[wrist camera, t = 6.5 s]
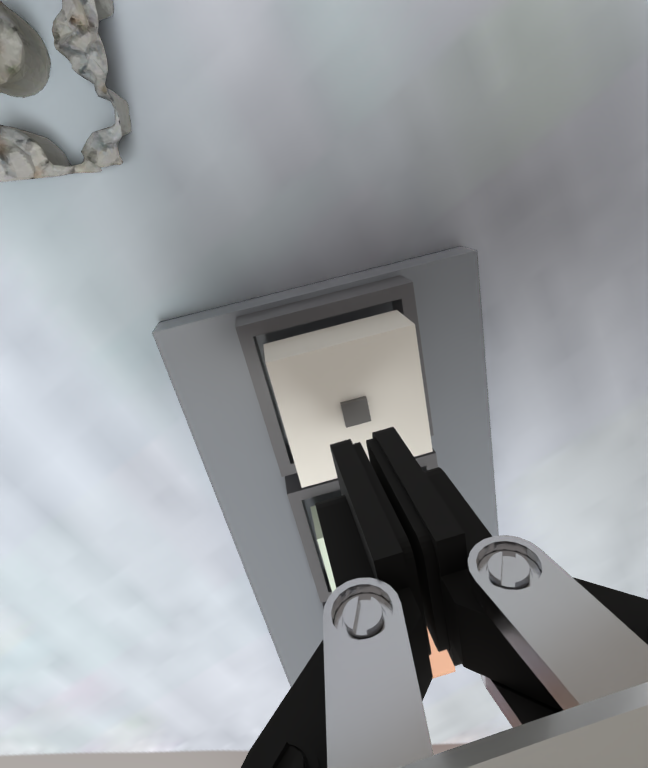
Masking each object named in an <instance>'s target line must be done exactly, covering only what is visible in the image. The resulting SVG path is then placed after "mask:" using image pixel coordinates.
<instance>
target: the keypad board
mask: <svg viewBox="0 0 648 768" xmlns="http://www.w3.org/2000/svg"><path fill="white" fill-rule="evenodd" d="M394 310H398V311H399V312H400V313H401V314H403V315H404V316H405V317H406V318H408V319H409V320H410V321H412V322H413V323H414V324H415V328H416V335H417V342H418V349H419V357H420V364H421V371H422V378H423V385H424V392H425V400H426V407H427V414H428V421H429V428H430V435H431V443H432V450H433V452H429V453H426V454H422V455H419V456H415V457H414V458H415V459H416V461H417V462H418V464H419V465H420V467H421V468H422V470H423V471H427V470H430V469H434V468H437V467H440V468H441V469H442V470H443V471H444V472H445V473H446V475H447V476H448V477H449V479H450V480H451V481H452V483H453V484H454V485H455V487H456V488H457V489H458V491H459V492H460V493H461V495H462V496H463V497H464V499H465V500H466V501H467V503H468V504H469V506H470V507H471V508H472V510H473V511H474V512H475V514H476V515H477V516H478V518H479V519H480V520H481V522H482V523H483V524H484V526H485V527H486V528H487V530H488V531H489V532H490V534H491V535H492V537H493V536H499V534H498V521H497V508H496V495H495V481H494V468H493V455H492V442H491V428H490V415H489V402H488V389H487V375H486V362H485V349H484V336H483V323H482V309H481V296H480V283H479V270H478V256H477V250H473V249H469V248H466V247H462V246H460V247H456V248H452V249H448V250H444V251H440V252H436V253H432V254H428V255H425V256H421V257H417V258H413V259H409V260H405V261H401V262H397V263H393V264H389V265H385V266H381V267H377V268H373V269H369V270H365V271H361V272H357V273H353V274H349V275H345V276H341V277H337V278H333V279H329V280H325V281H322V282H318V283H314V284H310V285H306V286H302V287H298V288H294V289H290V290H286V291H282V292H278V293H274V294H270V295H266V296H262V297H258V298H254V299H250V300H246V301H242V302H238V303H234V304H230V305H226V306H222V307H219V308H215V309H211V310H207V311H203V312H199V313H195V314H191V315H187V316H183V317H179V318H175V319H171V320H167V321H163V322H159V323H158V325H157V326H156V328H155V329H154V331H153V332H152V334H153V336H154V339H155V341H156V344H157V346H158V349H159V351H160V354H161V357H162V359H163V362H164V364H165V367H166V369H167V372H168V374H169V377H170V380H171V382H172V385H173V387H174V390H175V392H176V395H177V397H178V400H179V403H180V405H181V408H182V410H183V413H184V415H185V418H186V420H187V423H188V426H189V428H190V431H191V433H192V436H193V438H194V441H195V443H196V446H197V449H198V451H199V454H200V456H201V459H202V461H203V464H204V466H205V469H206V472H207V474H208V477H209V479H210V482H211V484H212V487H213V489H214V492H215V495H216V497H217V500H218V502H219V505H220V507H221V510H222V512H223V515H224V518H225V520H226V523H227V525H228V528H229V530H230V533H231V535H232V538H233V541H234V543H235V546H236V548H237V551H238V553H239V556H240V558H241V561H242V564H243V566H244V569H245V571H246V574H247V576H248V579H249V581H250V584H251V587H252V589H253V592H254V594H255V597H256V599H257V602H258V604H259V607H260V610H261V612H262V615H263V617H264V620H265V622H266V625H267V627H268V630H269V633H270V635H271V638H272V640H273V643H274V645H275V648H276V650H277V653H278V656H279V658H280V661H281V663H282V666H283V668H284V671H285V674H286V676H287V679H288V681H289V684H290V686H291V687H292V686H293V684H294V683H295V681H296V680H297V678H298V677H299V675H300V674H301V672H302V670H303V669H304V667H305V666H306V664H307V663H308V661H309V660H310V658H311V657H312V655H313V654H314V652H315V651H316V649H317V648H318V646H319V645H320V643H321V642H322V640H323V611H324V606H325V604H326V602H327V600H328V597H329V596H330V595H331V594H332V590H331V586H330V583H329V579H328V576H327V573H326V569H325V566H324V562H323V559H322V555H321V552H320V549H319V545H318V542H317V538H316V533H315V528H314V523H313V518H312V513H311V508H310V507H312V506H315V503H318V502H322V501H325V500H329V499H332V498H335V497H339V496H342V494H341V490H340V485H339V481H338V478H336V479H332V480H328V481H325V482H321V483H318V484H314V485H310V486H307V487H303V488H302V487H301V483H300V480H299V477H298V473H297V470H296V466H295V463H294V459H293V456H292V453H291V449H290V446H289V442H288V439H287V435H286V432H285V429H284V425H283V422H282V418H281V415H280V411H279V408H278V405H277V401H276V398H275V394H274V391H273V387H272V384H271V381H270V377H269V374H268V370H267V367H266V363H265V355H264V345H263V344H266V343H270V342H274V341H278V340H282V339H285V338H289V337H293V336H297V335H301V334H305V333H309V332H313V331H316V330H320V329H324V328H328V327H332V326H336V325H340V324H343V323H347V322H351V321H355V320H359V319H363V318H367V317H371V316H374V315H378V314H382V313H386V312H390V311H394ZM461 664H462V663H461ZM458 665H460V664H458ZM455 666H457V665H455Z"/></svg>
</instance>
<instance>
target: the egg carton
mask: <svg viewBox="0 0 648 768" xmlns="http://www.w3.org/2000/svg"><path fill="white" fill-rule="evenodd" d="M113 11H114V7H113V1H112V0H62V10H61V11H60V13H59V14H58V15H57V17H56V18H55V20H54V21H53V28H52V32H53V36H54V45H55V48H56V50H58V51H59V52H60V53H61V54H63V55H64V56H65V57H66V58H67V59H68V60H69V61H70V62H71V64H72V69H73V70H74V71H75V72H76V73H78V74H79V75H81V76H82V77H83V78H85V79H87V80H89V81H90V82H92V83H93V84H94V86H95V91H96V93H97V95H98V96H99V97H102V98H104V99H107V100H109V101H111V102H112V104H113V106H114V108H115V124H114V125H113V126H112V127H108V128H105V129H102V130H99V131H96V132H93V133H92V134H91V135H90V137H89V138H88V139H87V141H86V143H85V145H84V147H83V149H82V151H81V152H82V154H83V156H84V162H83V163H82V164H78V165H74V166H71V165H70V163H69V161H68V159H67V157H66V155H65V154H64V153H63V152H62V150H61V149H60V148H59V147H58V146H57V145H55V144H54V143H53V142H52V141H51V140H49V139H48V138H45V137H42V136H39V135H37V134H33V133H30V132H27V131H24V130H20V129H17V128H13V127H8V126H3V125H0V182H6V181H15V180H25V179H35V178H44V177H54V176H61V175H66V174H71V173H94V172H101V171H102V170H101V167H107V166H111V165H121V164H122V163H123V161H122V159H121V157H120V155H119V150H118V144H119V140H120V139H121V137H122V136H124V135H127V134H129V133H130V132H132V131H131V121H130V116H129V107H128V103H127V102H126V100H124V99H122V98H121V97H119V96H118V95H117V94H116V93H115V92H113V91H112V90H110V89H108V88H106V85H105V81H106V76H107V72H108V64H107V57H106V53H105V49H104V46H103V43H102V41H101V39H100V36H99V34H98V25H99V24H98V22H99V21H101V20H103V19H106V18H108V17H111V16H113ZM50 64H51V63H50V58H49V56H48V52H47V49H46V47H45V45H44V43H43V41H42V39H41V38H40V36H39V35H38V34H37V32H36V31H35V30H34V29H33V28H32V27H31V26H30V25H29V24H28V23H26V22H25V21H24V20H23V19H22V18H21V17H19V16H18V15H17V14H16V13H14V12H13V11H12V10H10V9H9V8H8V7H6V6H5V5H4V4H3V3H2V2H1V1H0V92H1V93H4V94H7V95H10V96H14V97H23V98H25V97H28V96H32V95H35V94H37V93H38V92H39V91H41V90H42V89H43V88H44V86H45V85H46V83H47V82H48V79H49V73H50Z"/></svg>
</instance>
